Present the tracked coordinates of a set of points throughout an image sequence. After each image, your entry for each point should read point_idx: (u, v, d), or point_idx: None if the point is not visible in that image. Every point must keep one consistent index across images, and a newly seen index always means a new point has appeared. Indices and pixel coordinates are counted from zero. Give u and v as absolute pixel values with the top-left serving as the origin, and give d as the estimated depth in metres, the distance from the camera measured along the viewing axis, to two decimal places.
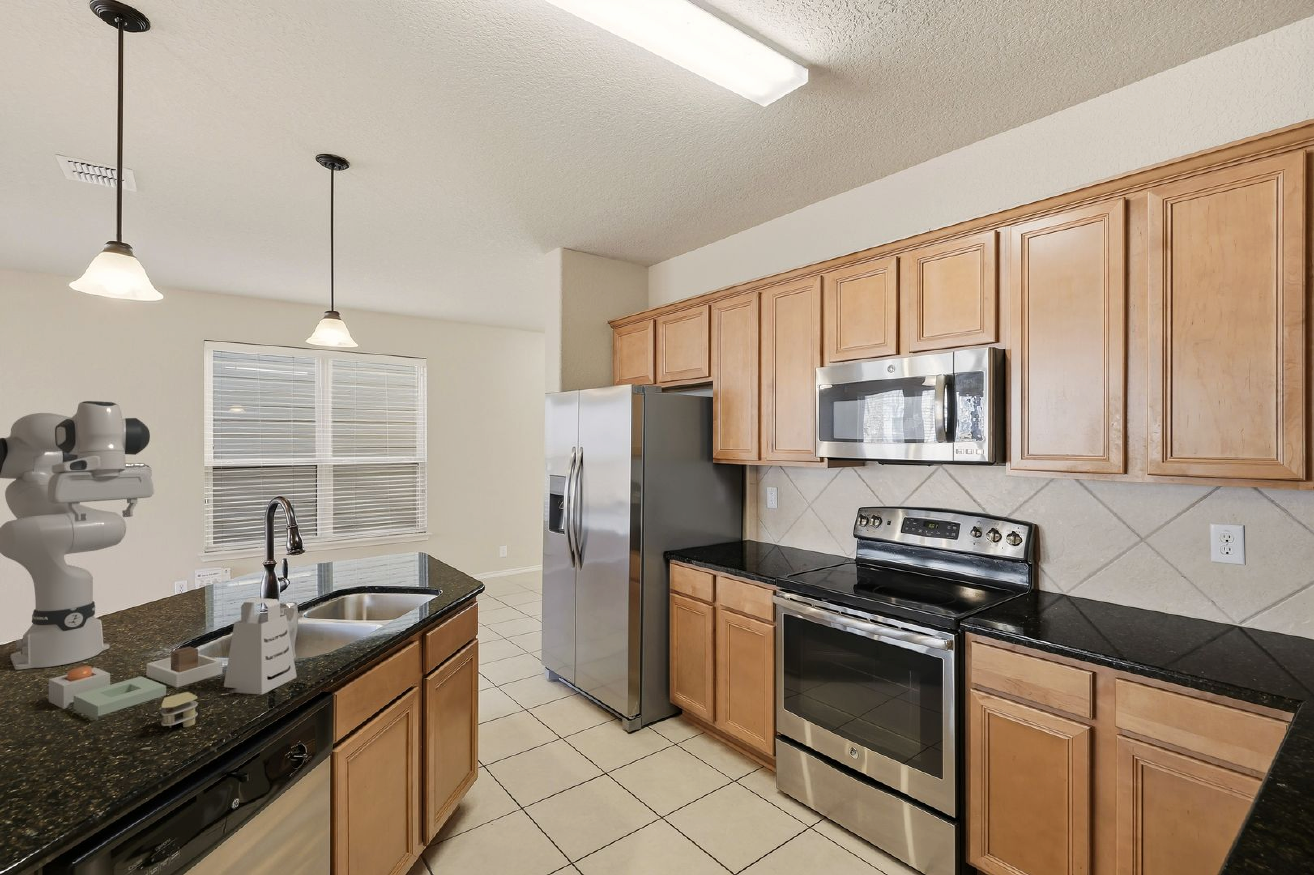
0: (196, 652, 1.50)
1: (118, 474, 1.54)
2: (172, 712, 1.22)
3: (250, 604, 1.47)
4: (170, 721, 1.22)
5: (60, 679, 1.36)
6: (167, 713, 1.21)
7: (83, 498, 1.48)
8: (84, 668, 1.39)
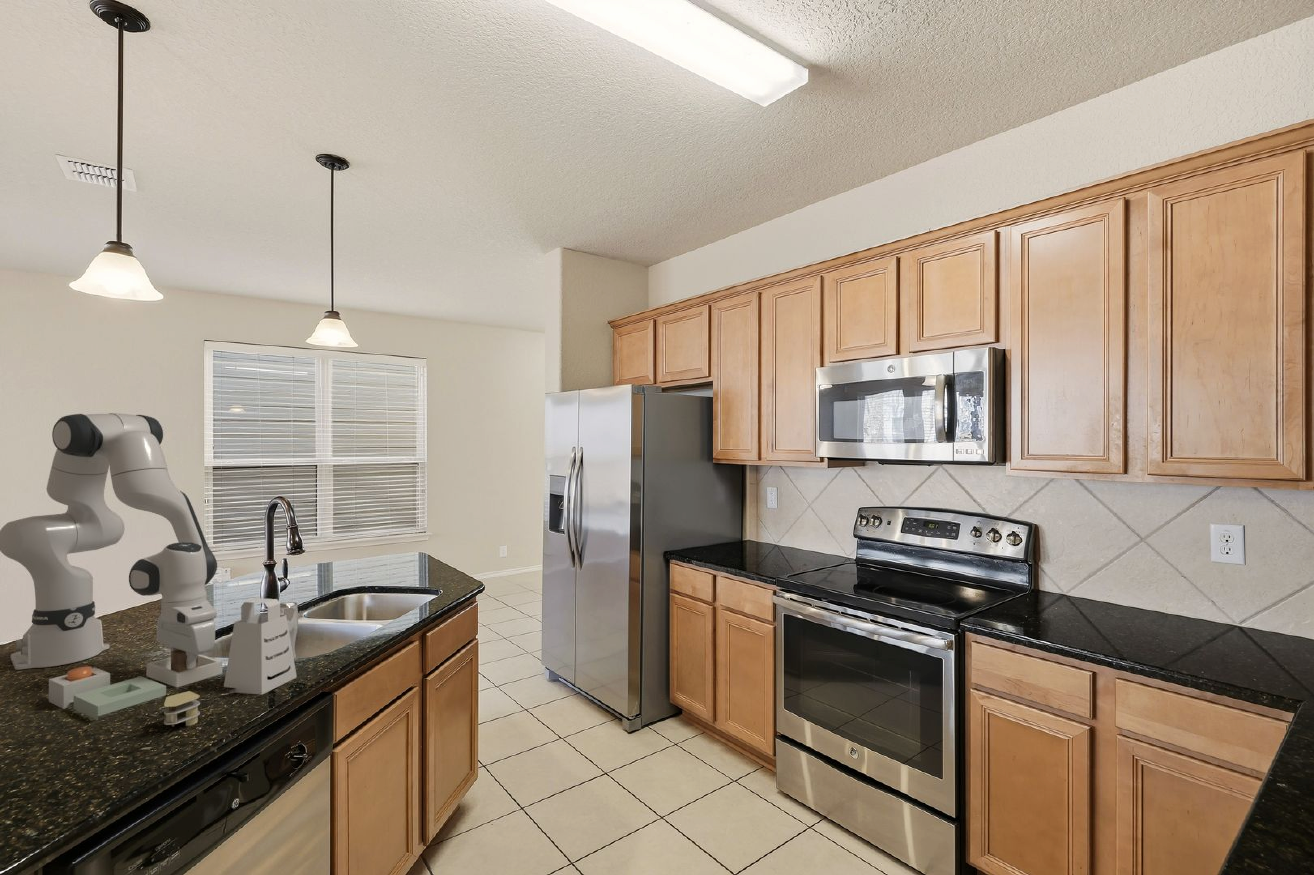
0: None
1: None
2: (175, 711, 1.22)
3: (250, 604, 1.47)
4: (172, 720, 1.22)
5: (60, 679, 1.36)
6: (170, 712, 1.22)
7: None
8: (84, 668, 1.39)
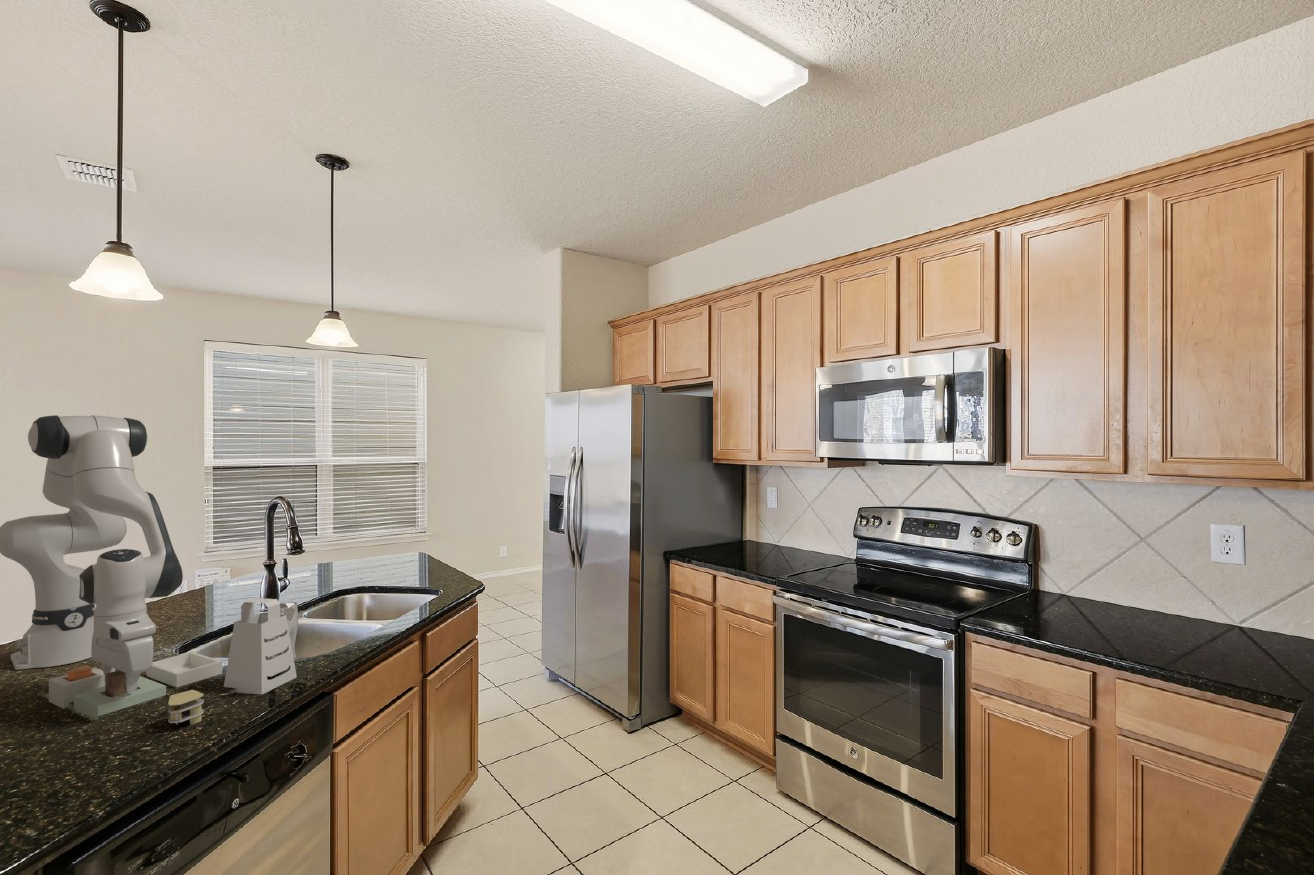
0: None
1: None
2: (179, 709, 1.23)
3: (250, 604, 1.47)
4: (177, 719, 1.23)
5: (60, 679, 1.36)
6: (174, 710, 1.23)
7: None
8: (84, 668, 1.39)
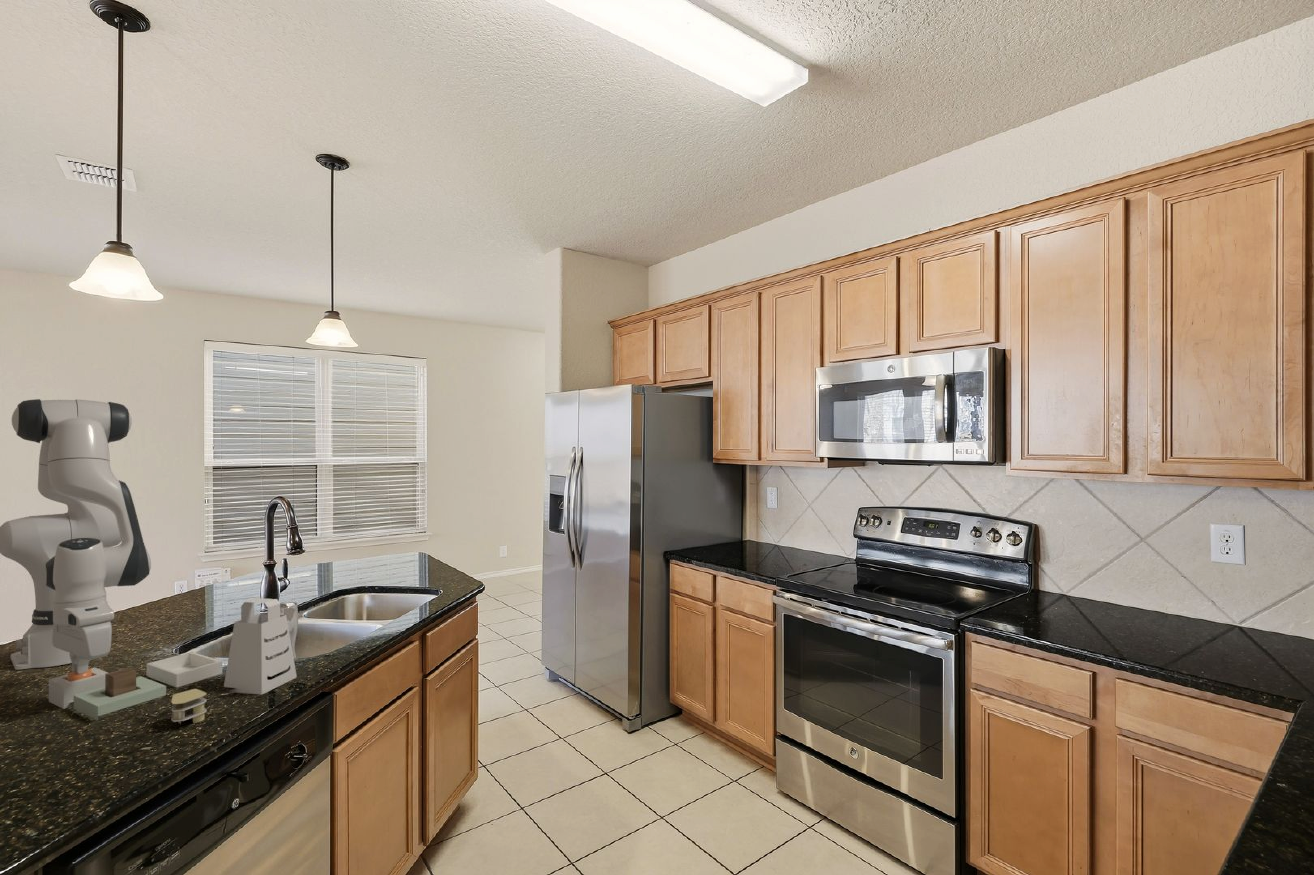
0: (134, 674, 1.35)
1: None
2: (182, 708, 1.24)
3: (250, 604, 1.47)
4: (180, 717, 1.23)
5: (60, 679, 1.36)
6: (177, 709, 1.23)
7: None
8: None
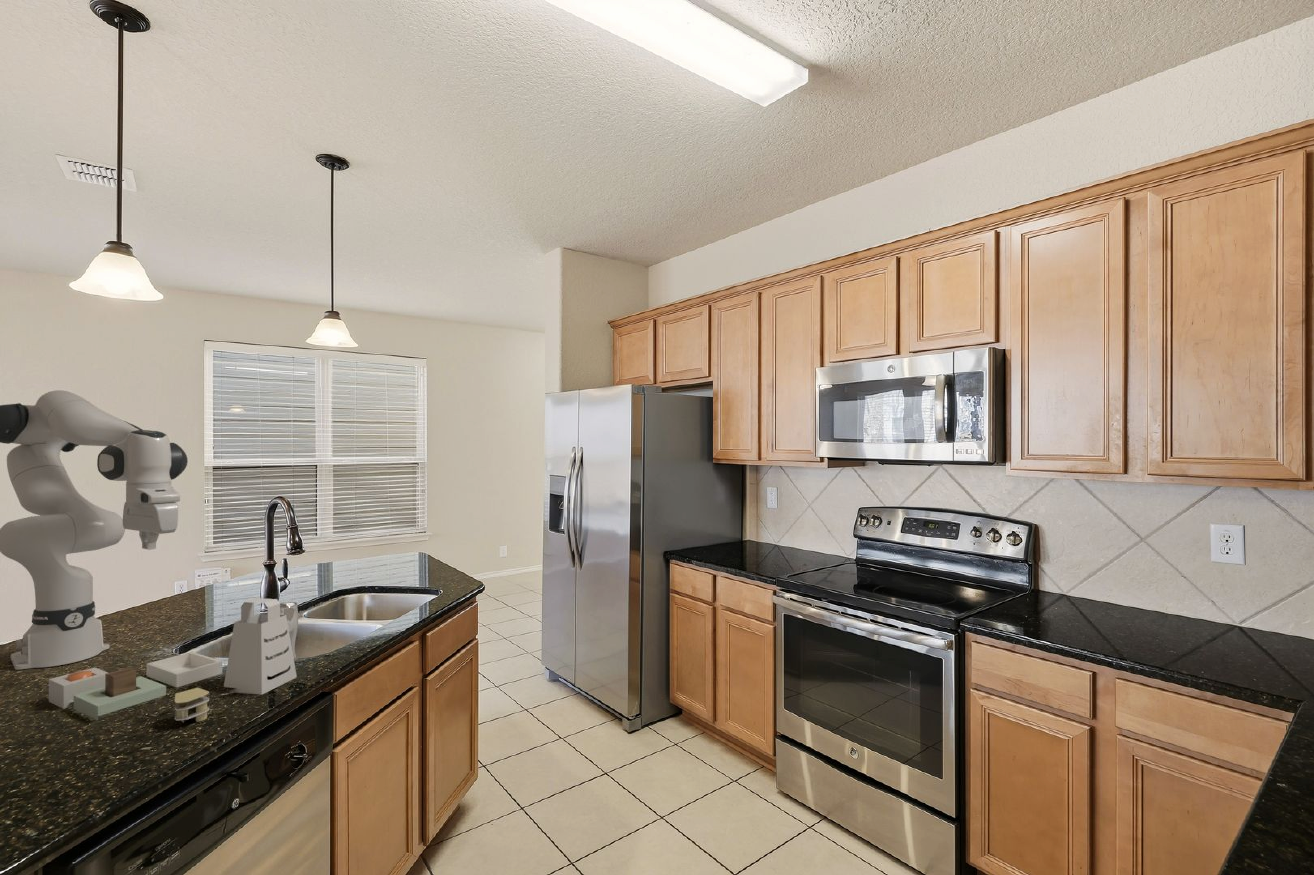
0: (134, 674, 1.35)
1: None
2: (185, 707, 1.24)
3: (250, 604, 1.47)
4: (183, 716, 1.24)
5: (60, 679, 1.36)
6: (181, 708, 1.24)
7: None
8: (84, 672, 1.39)
